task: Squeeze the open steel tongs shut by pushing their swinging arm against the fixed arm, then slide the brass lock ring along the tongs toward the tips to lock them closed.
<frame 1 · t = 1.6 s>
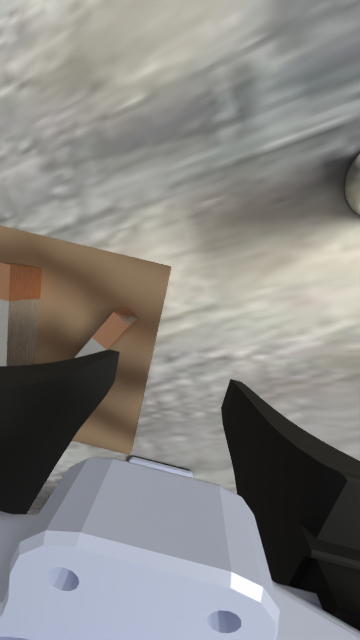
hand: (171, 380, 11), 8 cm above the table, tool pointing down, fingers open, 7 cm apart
fixed tong arm: (36, 343, 20), resting on walnut board
hinged tong arm: (72, 377, 18), point 3 cm above the table, hinge at -30.0°
walnut board: (71, 348, 20), on the table
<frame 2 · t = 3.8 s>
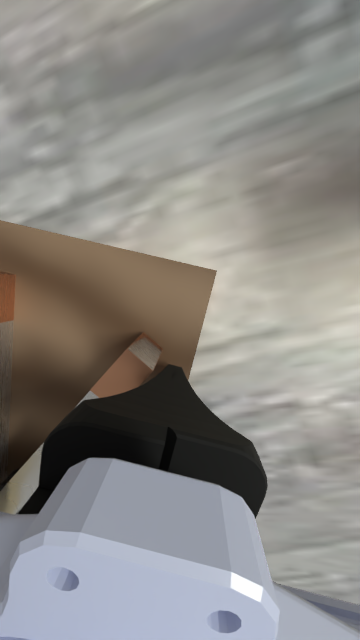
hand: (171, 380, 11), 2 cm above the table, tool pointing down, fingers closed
fixed tong arm: (13, 382, 14), resting on walnut board
hinged tong arm: (62, 441, 12), point 3 cm above the table, hinge at -29.2°, touching gripper
walnut board: (63, 389, 14), on the table
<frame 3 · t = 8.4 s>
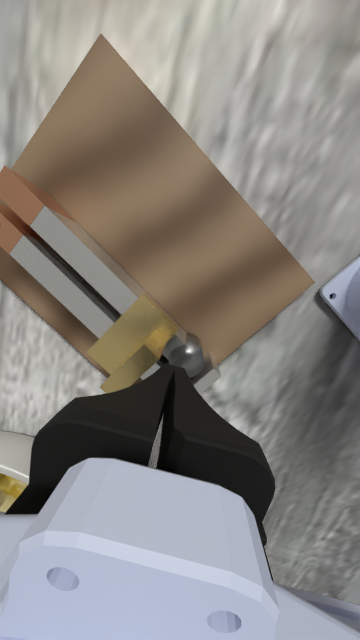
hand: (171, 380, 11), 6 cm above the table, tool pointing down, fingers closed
fixed tong arm: (109, 300, 16), resting on walnut board
hinged tong arm: (114, 282, 13), point 3 cm above the table, hinge at 0.3°
brass lock ring: (129, 343, 11), point 5 cm above the table, slide at 1.1 cm, touching gripper
bowl: (28, 516, 23), on the table
walnut board: (135, 263, 15), on the table
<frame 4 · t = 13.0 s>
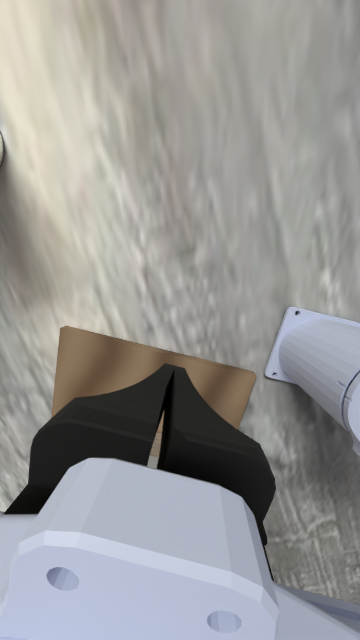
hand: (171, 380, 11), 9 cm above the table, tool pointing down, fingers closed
hinged tong arm: (140, 446, 20), point 3 cm above the table, hinge at 0.3°
walnut board: (144, 415, 23), on the table
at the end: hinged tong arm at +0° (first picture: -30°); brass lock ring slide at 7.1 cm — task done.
